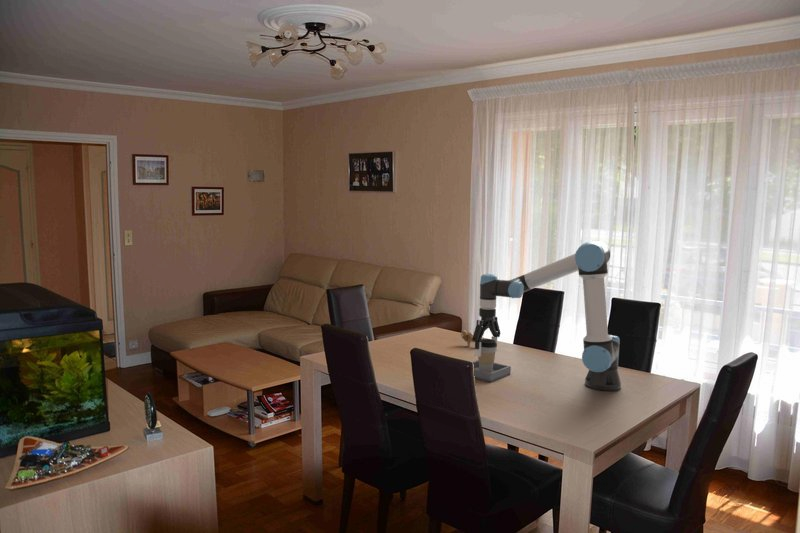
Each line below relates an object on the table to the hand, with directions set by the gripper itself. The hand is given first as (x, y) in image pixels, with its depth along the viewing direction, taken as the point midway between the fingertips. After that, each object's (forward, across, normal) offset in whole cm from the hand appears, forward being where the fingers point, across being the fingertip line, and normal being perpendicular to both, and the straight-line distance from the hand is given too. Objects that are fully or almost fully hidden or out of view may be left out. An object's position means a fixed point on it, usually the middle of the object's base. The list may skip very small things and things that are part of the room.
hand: (486, 353), depth 279 cm
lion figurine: (+10, -38, -33) cm, 52 cm away
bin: (+10, 0, 0) cm, 10 cm away
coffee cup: (+9, 0, 0) cm, 9 cm away
